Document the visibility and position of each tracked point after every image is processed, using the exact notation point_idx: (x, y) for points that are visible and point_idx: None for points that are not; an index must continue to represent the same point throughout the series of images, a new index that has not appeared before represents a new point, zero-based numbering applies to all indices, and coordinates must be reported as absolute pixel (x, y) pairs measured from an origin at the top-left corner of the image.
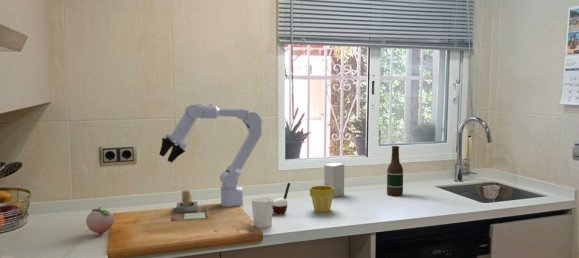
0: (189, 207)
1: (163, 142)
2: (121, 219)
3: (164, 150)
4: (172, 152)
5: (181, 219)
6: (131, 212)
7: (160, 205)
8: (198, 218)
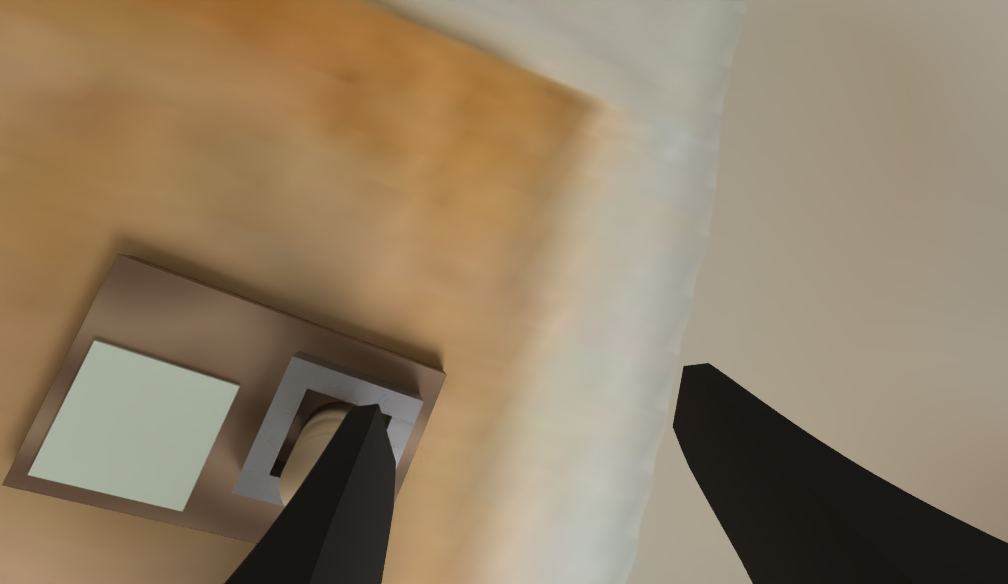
0: (256, 437)
1: (942, 575)
2: (444, 84)
3: (741, 486)
4: (229, 581)
5: (115, 326)
6: (552, 178)
7: (604, 352)
8: (51, 429)
